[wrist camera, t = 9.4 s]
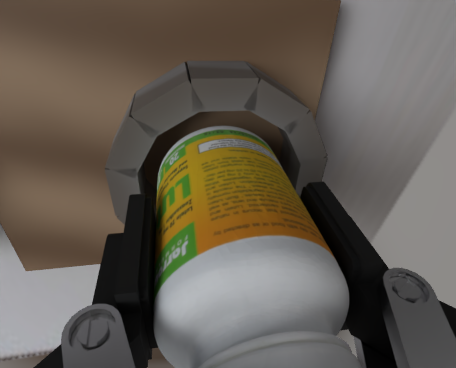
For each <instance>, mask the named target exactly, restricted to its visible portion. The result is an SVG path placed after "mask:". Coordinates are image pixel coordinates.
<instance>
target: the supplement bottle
mask: <svg viewBox="0 0 456 368" xmlns="http://www.w3.org/2000/svg"><path fill="white" fill-rule="evenodd" d="M348 309H349V291H348V286H347V283H346V280H345V277H344V275H343V273H342V271H341V269H340V267H339V265H338V263H337V261H336V259H335V257H334V256H333V254H332V251H331V250H330V249H329V247H328V245H327V244H326V242H325V240H324V239H323V237H322V235H321V233H320V231H319V230H318V228H317V227H316V225H315V223H314V221H313V220H312V218H311V216H310V215H309V213H308V211H307V209H306V207H305V206H304V204H303V203H302V201H301V199H300V198H299V196H298V194H297V193H296V191H295V189H294V188H293V186H292V184H291V182H290V180H289V179H288V177H287V175H286V174H285V172H284V170H283V168H282V167H281V165H280V163H279V161H278V159H277V158H276V156H275V154H274V153H273V151H272V150H271V148H270V147H269V146H268V145H267V143H266V142H265V141H264V140H263V139H261V138H260V137H259V136H257V135H256V134H254V133H252V132H250V131H248V130H245V129H242V128H239V127H234V126H212V127H207V128H203V129H200V130H197V131H194V132H192V133H190V134H188V135H187V136H185V137H183V138H182V139H180V140H179V141H178V142H177V143H176V144H175V145H173V147H172V148H171V149H170V150H169V151H168V153H167V154H166V156H165V157H164V159H163V161H162V163H161V166H160V169H159V173H158V181H157V203H156V230H155V260H154V291H153V328H154V335H155V339H156V342H157V345H158V347H159V349H160V351H161V353H162V354H163V355H164V357H165V358H166V359H167V361H168V362H169V363H171V364H172V365H173V366H174V367H175V368H361V366H360V363H359V361H358V359H357V358H356V356H355V355H354V354H352V351H351V349H350V347H349V345H348V344H347V343H346V342H345V341H344V340H342V339H340V338H338V337H336V335H337V334H338V333H339V331H340V330H341V328H342V326H343V324H344V322H345V320H346V317H347V313H348Z"/></svg>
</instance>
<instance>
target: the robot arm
mask: <svg viewBox="0 0 456 368" xmlns="http://www.w3.org/2000/svg"><path fill="white" fill-rule="evenodd" d="M300 199H301V201H302V203H303V204H304V206H305V207H306V209H307V211H308V213H309V215H310V216H311V218H312V220H313V221H314V223H315V225H316V227H317V228H318V230H319V231H320V233H321V235H322V237H323V239H324V240H325V242H326V244H327V245H328V247H329V249H330V250H331V251H332V254H333V256H334V257H335V259H336V261H337V263H338V265H339V267H340V269H341V271H342V273H343V275H344V277H345V280H346V283H347V286H348V291H349V309H348V313H347V317H346V320H345V322H344V324H343V326H342V328H341V330H346V329H349V331H350V333H351V335H353V336H354V342H355V347H356V353H357V358H358V361H359V363H360V366H361V368H456V308H453V307H452V306H449V305H447V304H445V303H443V302H441V301H439V300H438V299H437V296H436V294H435V292H434V290H433V289H432V287H431V286H430V284H429V283H428V282H427V281H426V280H425V279H424V278H422V277H421V276H419V275H418V274H417V273H414V272H412V271H410V270H407V269H403V268H392V269H388V267H387V265H386V264H385V263H384V262H383V260H382V259H381V257H380V256H379V255H378V253H377V252H376V251H375V249H374V248H373V246H372V245H371V244H370V242H369V241H368V240H367V238H366V237H365V236H364V234H363V233H362V232H361V230H360V229H359V227H358V226H357V225H356V223H355V222H354V221H353V219H352V218H351V217H350V216H349V215H348V214H347V212H346V211H345V209H344V208H343V207H342V205H341V204H340V203H339V201H338V200H337V199H336V197H335V196H334V195H333V193H332V192H331V190H330V189H329V188H328V186H327V185H326V184H325V183H324V182H310V183H308V184H307V186H306V187H303V188H302V192H301V196H300ZM155 230H156V219H155V212H154V204H153V198H152V197H148V198H147V195H146V194H132V195H129V200H128V207H127V213H126V220H125V226H124V233H113V234H108V235H107V238H106V242H105V247H104V251H103V256H102V261H101V265H100V270H99V275H98V279H97V284H96V289H95V293H94V298H93V302H92V305H90V306H87V307H85V308H83V309H82V310H80V311H78V312H77V313H76V314H75V315H73V316H72V317H71V319H70V320H69V321H68V322H67V324H66V325H65V327H64V330H63V332H62V338H61V345H60V346H58V347H57V348H56V349H55V350H54V351H53V352H51V353H50V354H49V355H48V356H47V357H46V358H45V359H43V360H42V361H41V362H40V363H39V364H37V365H36V366H35V367H34V368H147V367H148V360H149V359H152V348H158V345H157V342H156V339H155V335H154V328H153V291H154V260H155Z"/></svg>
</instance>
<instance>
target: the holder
mask: <svg viewBox="0 0 456 368" xmlns="http://www.w3.org/2000/svg"><path fill="white" fill-rule="evenodd" d="M340 3H341V0H0V223H1V225H2V227H3V229H4V231H5V233H6V235H7V236H8V238H9V240H10V242H11V244H12V246H13V248H14V250H15V251H16V253H17V255H18V257H19V259H20V261H21V263H22V264H23V266H24V268H25V270H26V271H33V270H43V269H53V268H63V267H73V266H83V265H93V264H101V261H102V256H103V251H104V247H105V242H106V238H107V235H108V234H113V233H124V226H125V220H126V213H127V207H128V200H129V195H132V194H146V195H147V198H148V197H152V198H153V204H154V212H155V219H156V203H157V181H158V173H159V169H160V166H161V163H162V161H163V159H164V157H165V156H166V154H167V153H168V151H169V150H170V149H171V148H172V147H173V145H175V144H176V143H177V142H178V141H179V140H180V139H182V138H183V137H185V136H187V135H188V134H190V133H192V132H194V131H197V130H200V129H203V128H207V127H212V126H234V127H239V128H242V129H245V130H248V131H250V132H252V133H254V134H256V135H257V136H259V137H260V138H261V139H263V140H264V141H265V142H266V143H267V145H268V146H269V147H270V148H271V150H272V151H273V153H274V154H275V156H276V158H277V159H278V161H279V163H280V165H281V167H282V168H283V170H284V172H285V174H286V175H287V177H288V179H289V180H290V182H291V184H292V186H293V188H294V189H295V191H296V193H297V194H298V196H299V198H300V196H301V192H302V188H303V187H306V186H307V184H308V183H310V182H321V181H322V177H323V173H324V169H325V166H326V162H327V157H326V156H327V153H326V150H325V148H324V145H323V142H322V140H321V137H320V134H319V131H318V129H317V126H316V123H315V117H316V113H317V108H318V103H319V99H320V94H321V90H322V85H323V81H324V76H325V72H326V67H327V62H328V58H329V53H330V49H331V44H332V40H333V35H334V30H335V26H336V21H337V17H338V12H339V8H340Z"/></svg>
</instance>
